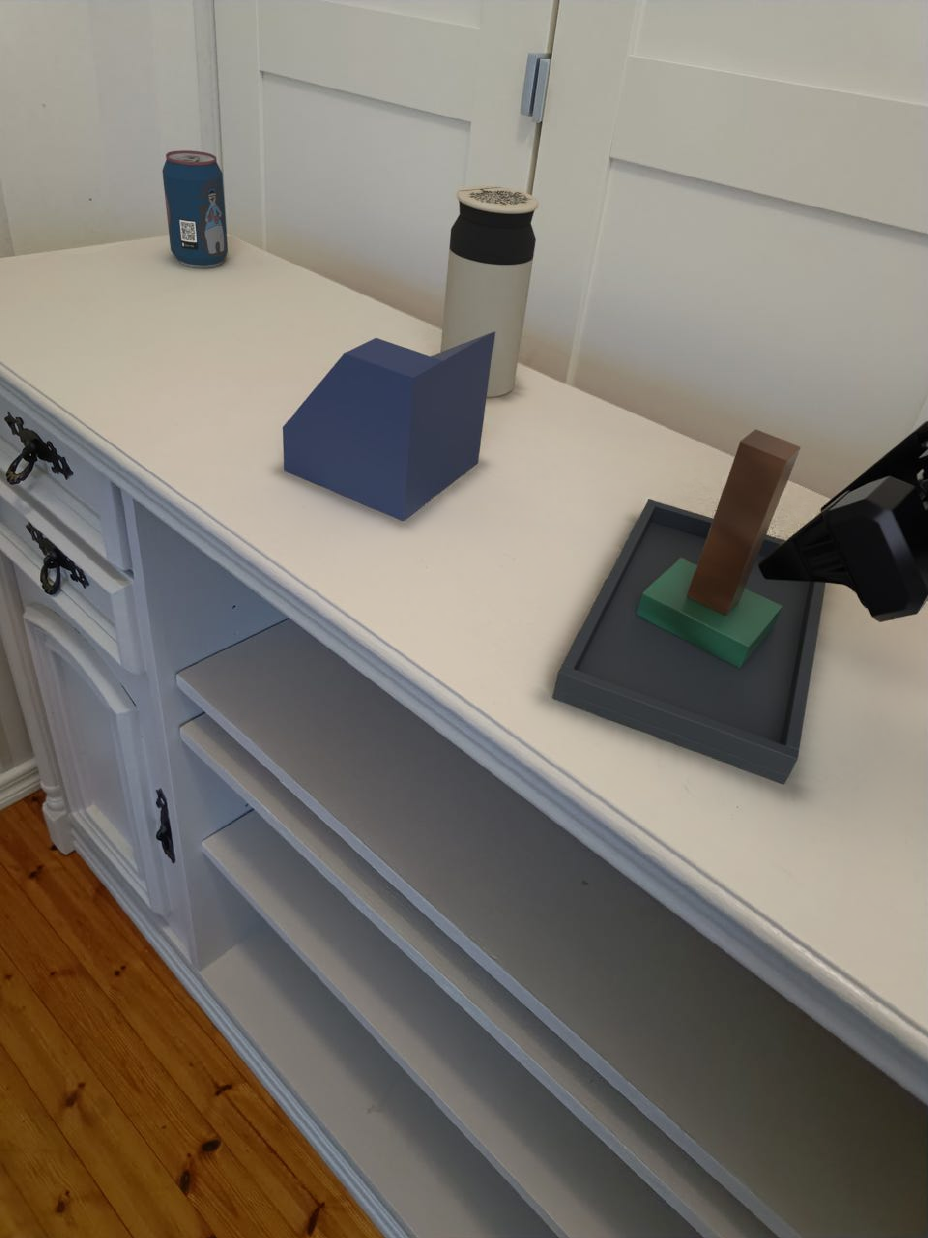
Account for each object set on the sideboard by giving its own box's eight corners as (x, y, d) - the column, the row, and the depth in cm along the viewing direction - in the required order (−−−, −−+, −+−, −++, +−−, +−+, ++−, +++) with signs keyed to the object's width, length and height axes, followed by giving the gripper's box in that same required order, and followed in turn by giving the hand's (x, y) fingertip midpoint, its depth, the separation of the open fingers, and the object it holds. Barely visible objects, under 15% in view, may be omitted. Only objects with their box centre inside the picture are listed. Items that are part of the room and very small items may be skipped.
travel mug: (528, 393, 88) (558, 206, 76) (462, 404, 84) (484, 210, 73) (488, 362, 93) (510, 182, 81) (424, 372, 89) (438, 185, 78)
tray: (641, 521, 71) (648, 498, 69) (819, 577, 67) (830, 553, 66) (551, 698, 54) (557, 672, 52) (784, 785, 50) (797, 759, 49)
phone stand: (367, 420, 80) (372, 291, 72) (478, 463, 76) (495, 330, 68) (284, 470, 71) (279, 329, 64) (403, 521, 67) (413, 377, 60)
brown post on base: (773, 627, 60) (851, 452, 51) (739, 669, 56) (817, 487, 48) (673, 578, 64) (730, 405, 55) (635, 614, 60) (689, 435, 51)
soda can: (183, 248, 111) (173, 145, 103) (235, 256, 111) (229, 153, 103) (163, 264, 106) (151, 157, 98) (218, 272, 106) (210, 166, 98)
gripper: (1113, 691, 36) (784, 730, 48) (1174, 530, 47) (897, 594, 60) (1012, 453, 35) (700, 554, 47) (1100, 347, 46) (832, 450, 58)
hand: (794, 541), depth 53 cm, fingers open, 9 cm apart
